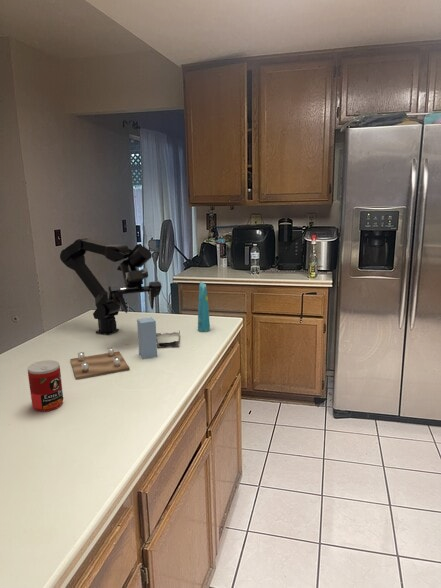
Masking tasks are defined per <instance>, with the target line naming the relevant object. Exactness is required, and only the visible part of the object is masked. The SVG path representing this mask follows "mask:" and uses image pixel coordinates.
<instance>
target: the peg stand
mask: <svg viewBox="0 0 441 588" xmlns="http://www.w3.org/2000/svg"><path fill="white" fill-rule="evenodd" d="M70 364H71V367H72V371H73V374H74V377H75V380H81V379H82V380H83V379H88V378H93V377H94V378H95V377H98V376H99V377H100V376H105V375H110V374H116V373H122V372H127V371H130V366H129V364H128V363H127V361H126V360H125V358H124V357H123V355H122V354H121V352H120V351H119V350H117V351H115V348H114V347H109V348H107V352H106V353H100V354H99V353H98V354H94V355H93V354H92V355H88V356H87V355H86V356H85V352H80V351H79V352H78V353H77V357H74V358H70Z"/></svg>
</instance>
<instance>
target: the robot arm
mask: <svg viewBox="0 0 441 588" xmlns="http://www.w3.org/2000/svg"><path fill="white" fill-rule="evenodd" d="M87 251H88V252H90V253H95V254H98V255H102V256H104V257H105V258H106V259H107V260H109V261H111V262H114V263H116V262H120V263H119V265H118V266H117V268H116V270H117V271H121V274H122V277H123V279H122V280H123V284H124V286H125V287H123V288H121V285H120V284H116V285H108V288H107V290H105V288H104V287H103V286H102V284H101V282H99V279H97V277H96V276H95V274H93V272H92V271H91V269H90V268H89V266H88V265H87V264H86V257H85V255H86V254H87ZM152 256H153V255H152V251H150V249H148V248H147V247H145V246H143V245H142V244H141V243H138V244H136V245H135V246H134V248H133V249H131V248H129V246H128V245H127V244H108V243H104V242H99V241H96V240H92V239H89V238H86V237H85V238H84V237H83V238H82V237H81V238H77V239H76V240H75V241H74V242H72V244H70V245H68V246H67V247H65V249H62V250H61V252H60V255H59V258H60V261H61V262H62V263H63V264H64V266H66V267H67V268H68V269H71V270H73V271H74V272H75V273H76V274H77V276H78V278H79V279H80V280H81V281H82V283H83V284H84V285H85V287H86V289H87V290H88V291H89V292H90V294H91V295H92V296H93V297H94V303H95V307H96V309H95V310H94V311H93V312H92V316H93V319H94V320H97V324H98V330H96V331H95V333H97V334H100V335H101V334H103V335H106V336H107V335H111V334H113V333H115V332H117V331H119V328H118V327H117V320H116V316H118V315H119V311H120V309H122V310H123V311H124V312H125V313H126V314H128V308H127V304H126V302H125V298H124V295H127V294H136V293H138V294H139V293H147V294H148V301H149V305H150V309H151V310H154V306H155V305H154V304H155V303H154V302H155V298H156V297H158V295H160V294H161V290H162V287H163V286H162V283H161V281H159V280H157V281H156V280H155V281H149V283H148V285H146V286H145V285H144V286H143V284H144V280H145V279H147V278H148V277H149V271H148V269H147V268H146V267H145V268H142V267H143V266H144V265H145V264H146V263H147V262H148V261H150V259H151V258H152ZM138 268H141V269H138Z"/></svg>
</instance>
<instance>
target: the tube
mask: <svg viewBox="0 0 441 588" xmlns="http://www.w3.org/2000/svg"><path fill="white" fill-rule="evenodd" d="M207 289H208V288H207V284H205V283H204V282H202V281H201V280H200V281H199V288H198V303H197V304H198V306H197V331H198V332H201V333H202V332H209V331H210V330H211V327H210V325H211V324H210V307H209V297H208V292H207V291H208V290H207Z"/></svg>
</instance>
